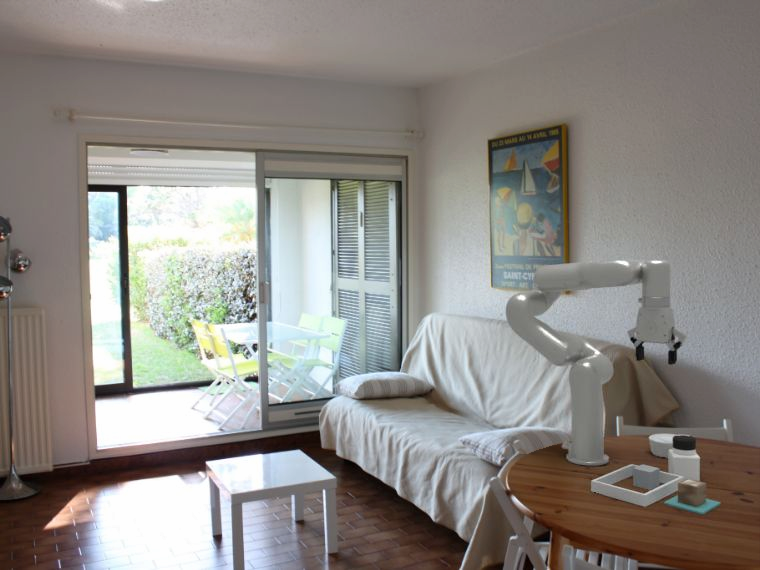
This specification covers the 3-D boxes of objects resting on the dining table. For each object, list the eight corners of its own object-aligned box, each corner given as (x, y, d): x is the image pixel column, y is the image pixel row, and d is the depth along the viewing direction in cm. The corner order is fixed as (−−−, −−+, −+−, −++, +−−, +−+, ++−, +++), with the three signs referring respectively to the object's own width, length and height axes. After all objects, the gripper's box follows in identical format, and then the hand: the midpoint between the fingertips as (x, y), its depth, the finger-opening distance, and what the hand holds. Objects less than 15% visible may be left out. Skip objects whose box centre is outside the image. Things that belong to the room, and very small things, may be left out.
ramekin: (643, 455, 224) (643, 439, 224) (656, 447, 233) (656, 431, 232) (680, 462, 217) (680, 445, 217) (692, 453, 225) (692, 437, 225)
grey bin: (591, 491, 193) (591, 480, 193) (631, 474, 206) (631, 464, 206) (645, 507, 181) (645, 495, 181) (684, 487, 195) (684, 476, 194)
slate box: (633, 486, 197) (633, 468, 197) (642, 481, 200) (642, 464, 200) (650, 490, 193) (650, 472, 193) (659, 486, 197) (659, 468, 196)
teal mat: (663, 504, 183) (663, 502, 183) (682, 494, 190) (682, 492, 190) (702, 514, 175) (702, 512, 175) (720, 504, 182) (720, 502, 182)
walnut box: (677, 502, 183) (677, 482, 182) (686, 497, 186) (686, 478, 186) (697, 507, 179) (697, 487, 179) (705, 502, 182) (706, 482, 182)
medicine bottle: (700, 482, 198) (700, 440, 198) (673, 481, 200) (673, 439, 199) (694, 474, 205) (694, 433, 205) (668, 473, 207) (668, 432, 206)
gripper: (621, 302, 209) (621, 360, 210) (679, 305, 196) (678, 367, 197) (635, 300, 214) (634, 357, 215) (691, 303, 201) (691, 363, 202)
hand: (655, 362), depth 206 cm, fingers open, 9 cm apart
